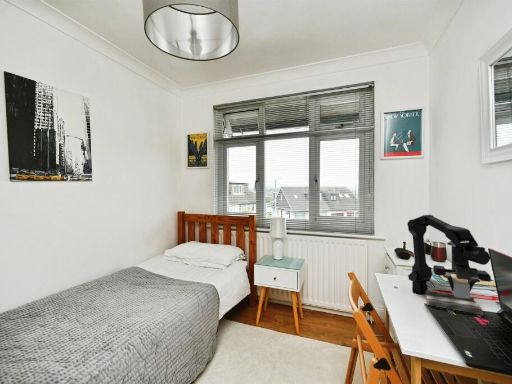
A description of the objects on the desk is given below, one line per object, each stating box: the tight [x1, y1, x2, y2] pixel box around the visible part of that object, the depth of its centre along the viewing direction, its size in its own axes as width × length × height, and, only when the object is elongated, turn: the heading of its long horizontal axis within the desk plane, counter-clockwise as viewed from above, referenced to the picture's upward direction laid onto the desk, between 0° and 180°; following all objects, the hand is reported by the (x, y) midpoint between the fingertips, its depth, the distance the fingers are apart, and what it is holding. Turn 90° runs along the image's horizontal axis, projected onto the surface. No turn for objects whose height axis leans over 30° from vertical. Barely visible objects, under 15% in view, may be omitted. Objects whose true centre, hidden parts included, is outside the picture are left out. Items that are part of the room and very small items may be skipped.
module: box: [451, 276, 471, 299], centre depth 105 cm, size 5×7×6 cm
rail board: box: [424, 289, 484, 316], centre depth 115 cm, size 20×13×3 cm, turn 60°
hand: (460, 291), depth 105 cm, fingers closed on module, 5 cm apart
